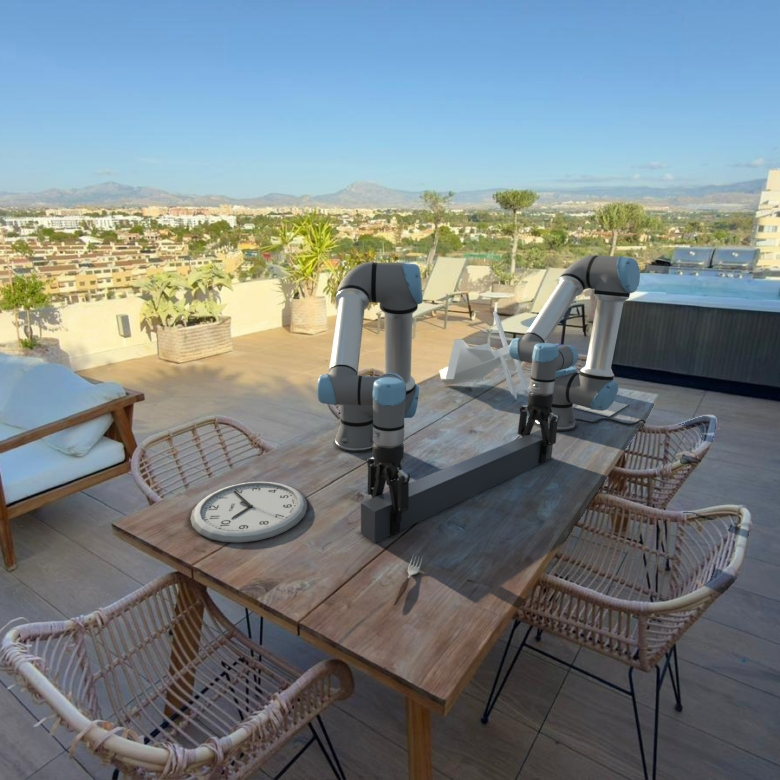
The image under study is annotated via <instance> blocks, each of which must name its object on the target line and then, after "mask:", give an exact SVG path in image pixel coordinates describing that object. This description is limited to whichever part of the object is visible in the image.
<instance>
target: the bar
mask: <svg viewBox="0 0 780 780" xmlns="http://www.w3.org/2000/svg"><path fill="white" fill-rule="evenodd" d="M541 444H543V440H542V433H541V429H538V430H536V431H533V432H531V433H530V434H529V435H526V436H524V437H522V436H521V437H519V438H517V439H514V440H512V441H509V442H507V443H504V444H502V445H499V446H496V447H495V448H491V449H490V450H487V451H485V452H482V453H480V454H477V455H474V456H472V457H469V458H467V459H464V460H463V461H460V462H457V463H454V464H452V465H450V466H447V467H445V468H443V469H440V470H438V471H435V472H433V473H431V474H428V475H425V476H423V477H421V478H418V479H416V480H413V481H411V482H409V509H408V510H406V511H404V512H402V521H401V522H400V532H401V531H402V530H405V529H407V528H409V527H411V526H413V525H415V524H418V523H420V522H421V521H423V520H425V519H428V518H430V517H432V516H434V515H436V514H438V513H440V512H442V511H445V510H447V509H449V508H451V507H453V506H454V505H457V504H459V503H461V502H464V501H466V500H467V499H470V498H472V497H473V496H475V495H478V494H479V493H482V492H484V491H486V490H489V489H490V488H492V487H495V486H497V485H499V484H500V483H503V482H505V481H507V480H509V479H511V478H514V477H515V476H517V475H520V474H522V473H523V472H526V471H527V470H529V469H532V468H534V467H536V466H538V465H540V464H539V455H540V446H541ZM553 448H554V444H553V445H551V446H550V445H549V453H548V454H546V460H545V462H547V461H549V460H551V459H552V456H553ZM391 510H393V508H392V502H391V496H390V490H388V491H387V492H383V494H381V495H379V496H376V497H374V498H372V497H371V498H369V499H367V500H365V501H361V502H360V534H361V535H362V536H364V537H365V538H367V539H368V540H369V541H371V542H372V543H374V544H375V543H377V542H380V541H382V540H384V539H386V538H388V537H390V536H392V535H391V534H390V511H391Z"/></svg>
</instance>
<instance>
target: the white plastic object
mask: <svg viewBox="0 0 780 780" xmlns="http://www.w3.org/2000/svg"><path fill="white" fill-rule="evenodd" d="M492 315H493V319H494V321H495V324H496V325H495V326H496V328H497V332H498V335H499V338H500V342H501V345H502V347H500V348H498V349H496V350H495V349H493V348H492V347H491V346H490V344H489V343H488V342H487V343H483V344H479V345H473V346H469V345H468V343H466V342H465V340H464V339H463V338H460V339H458V338H454V340H453V344H452V349H451V353H450V357H449V362H448V366H446V367H444V368H442V369H440V370H439V371H438V372H439V376H440V381H442V383H443V384H444V385H445V386H449V385H458V384H467V383H468V384H469V383H473V384H477V383H480V382H482V381H484V378H485V377H486V376H487V375H489V374H490V373H492V372H494V371H495V370H496V369H497V368H499V367H500V366H502V370H503V373H504V376H505V380H506V383H507V386H508V390H509V393H510V394H511V395H512V397H513V398H514V399H515V400H517V392H516V391H517V390H516V388H515V385H514V381H513V378H512V375H511V371H510V369H509V365H508V361H510V360H513V363H514V366H515V369H516V372H517V376H518V380H519V382H520V385H521V389H522V391H523V393H524V395H525V396H526V397H528V396H529V392H530V390H529V388H528V387H529V386H528V384H527V381H526V378H525V375H524V371H523V369H522V368H523V367H522V366H521V361H519V360H516V359H513V358H512V357H511V356H510V354H509V346H510V344H508V341H507V337H506V334H505V331H504V328H503V325H502V321H501V318H500V315H499V314H498V312H497V311H496V310H495V311H492Z"/></svg>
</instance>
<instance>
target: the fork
mask: <svg viewBox="0 0 780 780" xmlns="http://www.w3.org/2000/svg"><path fill="white" fill-rule="evenodd" d="M414 555H415V553H413V554H412V557H411V559H410V562H409V565H408V567H407V573H408V576H407V578H406V579H405V580H404V582H403V583H402V584H401V586H400V587H399V591H398V593H397V596H396V598H395V601H394V604H393V606H396V604H397V603H398V602H399V600H400V599H401V598H402V596H403V594H404V593H405V591H406V590H407V588H408V585H409V582H410V579H411V577H412V576H414V575H417V574H418V573H419V572H420V570H421V565H422V561H423V557H424V556H423V555H422V556H421V555H417V554H416V555H415V557H414ZM417 556H418V558H417ZM420 556H421V557H420ZM420 558H421V559H420ZM413 559H414V560H413ZM416 559H417V560H416ZM419 560H420V562H419ZM415 563H416V564H415Z"/></svg>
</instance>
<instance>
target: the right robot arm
mask: <svg viewBox="0 0 780 780" xmlns="http://www.w3.org/2000/svg"><path fill="white" fill-rule="evenodd" d="M640 280H641V270H640V266H639V264H638V262H637V260H636V259H635V258H633V257H627V256H623V255H621V256H614V255H598V254H594V255H593V254H591V255H587V256H583V257H582V258H580V259H578V260H576V261H575V262H573V263H572V264H571V265H569V266H568V267H567V268H566V269H565V270H564V271H563V272H562V274H561V275H560V277H559V278H558V279H557V285H556V287H555V288H554V290H553V292H552V294H551V295H550V296H549V298H548V299H547V301H546V303H545V304H544V305H543V307H542V308H541V310H540V311H539V313H538V315H537V316H536V317H535V319H534V320H533V322H532V324H531V325H530V327H529V328H528V330H526V333H525V334H524V335H523V336H522V337H515V338H514V339H512V340H511V341H510V343H509V345H510V346H509V354H510V356H511V357H512V358H513V359H516V360H519V362H524V363H529V364H531V369H530V370H531V371H530V379H529V386H528V387H529V388H528V390H529V396H527V405H526V404H523V405H521V406H519V408H518V409H519V421H518V427H517V434H518V435H520V436H521V437H524V436H526V435H529V434H531V433H532V431H533V428H534V425H536V426H537V427H539V428H540V430H541V433H542V440H543V444H541V446H540V455H539V464H538V465H542V464H544V463H546V461H545V460H546V454H548V453H549V445H550V446H551V445H553V446H554V445H555V444H556V442H557V432H567V431H572V430H574V429H575V428H576V421H577V422H583V423H587V424H596V423H598V422H600V421H610V422H611V421H612V422H615V423H618V424H621V425H626V426H634V425H637V424H638V423H640V422H643V423H645V424H646V423H647V421H645V420H644V419H639V420H637V421H634V422H624V421H621V420H617V419H614V418H610V417H601V418H598V419H597V420H593V421H591V420H586V419H581V418H575V417H576V416H575V413H574V407H573V405H575V406H578V405H580V406H583V407H587V408H590V409H592V410H593V409H595V410H600V411H604V410H606V409H608V408H609V407H610V406H611V404H612V403H613V402H615V400H616V398H617V395H618V391H619V383H618V382H617V380H615V374H614V372H613V371H612V365H613V360H614V355H615V354H614V353H615V350H616V349H615V348H616V344H617V339H618V333H619V329H620V324H621V323H620V322H621V317H622V313H623V307H624V303H625V302H626V301H627V300H629V299H630V295H631V294H634V293H635V292H636V291H638V287H639V286H640ZM588 289H591V290H594V291H593V296H594V297H595V298H596V300H597V301H596V304H595V305H596V306H595V311H594V316H593V323H592V328H591V333H590V339H589V344H588V350H587V356H586V361H585V365H584V366H583V367H582V368H581V369H580V370H579V372H578V368H577V367H576V366H575V365H576V364H577V362H578V361H579V352H578V350H577V348H576V347H575V346H574V347H573V345H572V344H562V345H561V346H558V345H555V344H556V343H550V342H548V340H549V339H550V337H551V336H552V334H553V333H554V331H555V330H556V328H557V327H558V325H559V324H560V322H561V320H562V319H563V317H564V316H565V315H566V313H567V311H568V310H569V308H570V307H571V305H572V303H573V302H574V300H575V299H576V297H579V296H581V295H582V294H583V292H584V291H585V290H588ZM513 359H512V360H513ZM528 414H529V415H528Z"/></svg>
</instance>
